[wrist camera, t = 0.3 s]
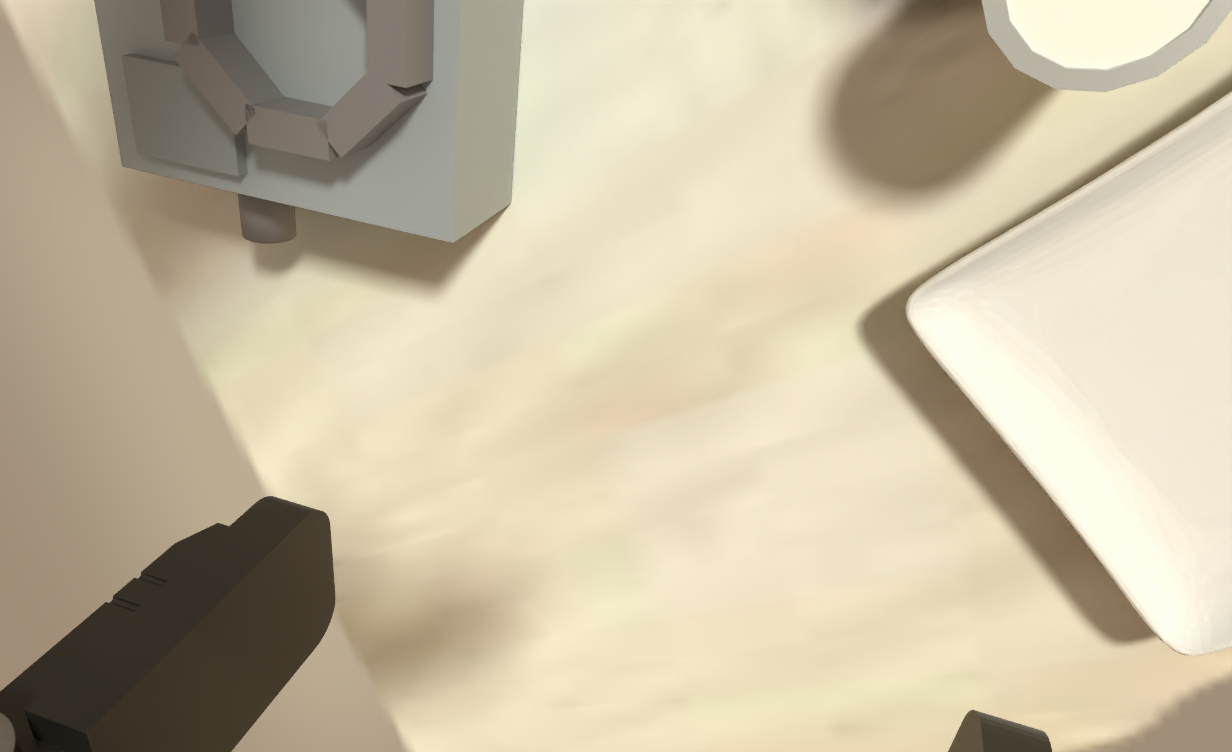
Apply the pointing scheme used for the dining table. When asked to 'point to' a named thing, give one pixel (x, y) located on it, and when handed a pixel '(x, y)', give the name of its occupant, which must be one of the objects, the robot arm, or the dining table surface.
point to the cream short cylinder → (1100, 38)
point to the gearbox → (322, 106)
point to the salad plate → (1116, 368)
